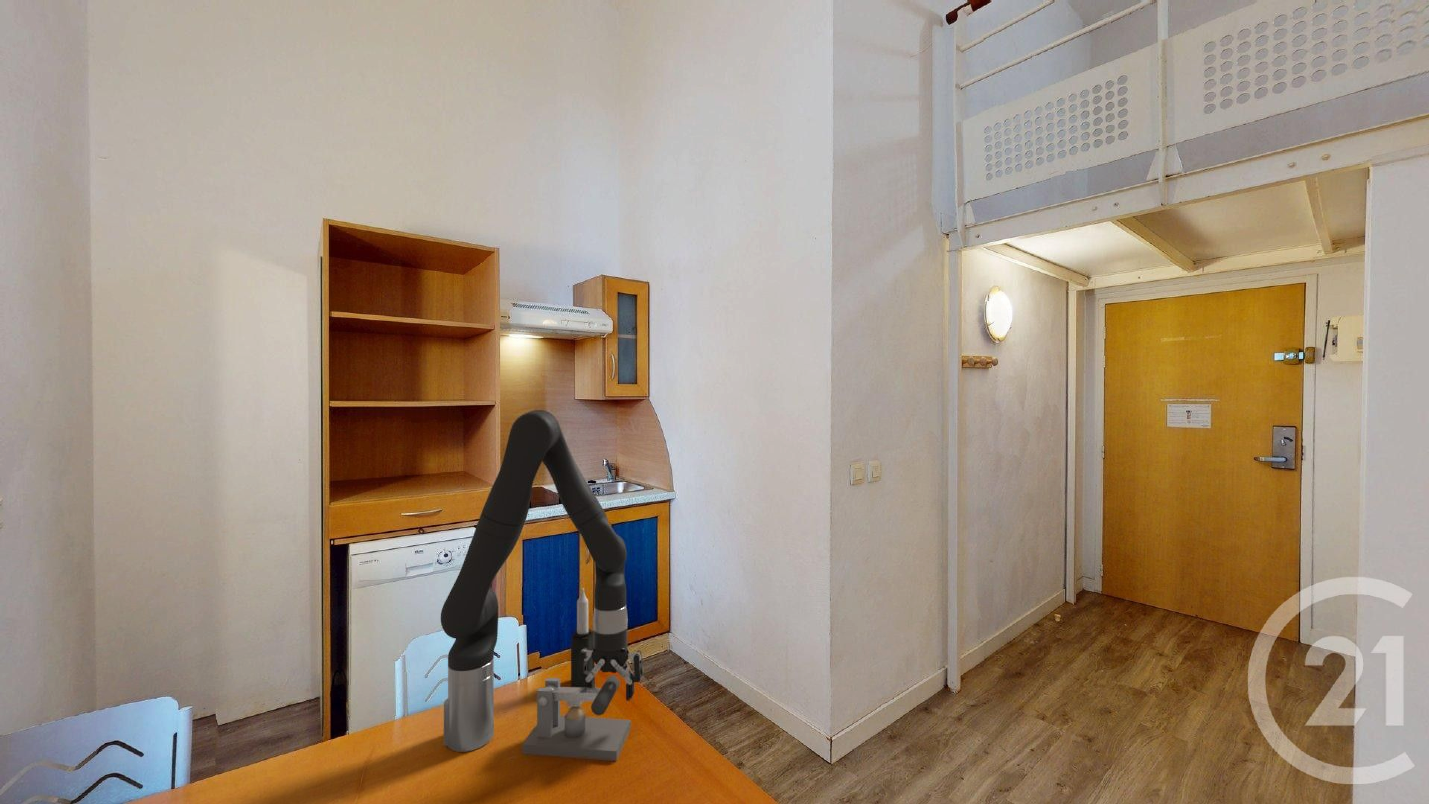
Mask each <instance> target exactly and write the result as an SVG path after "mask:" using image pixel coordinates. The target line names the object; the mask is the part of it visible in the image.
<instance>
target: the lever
mask: <svg viewBox="0 0 1429 804" xmlns="http://www.w3.org/2000/svg"><path fill="white" fill-rule="evenodd" d="M619 687H620V679H619V678H618V677H617V676H615V675H611V676H608V677H607V678H606V680H605V681H604V682H603V685H602V686H601V687H595V688H583V687H573V686H571V687H570V686H560V687H555V686H554V685H548V686H546V688H553V701H560V702H565V701H566V706H567V707H573V706H574V707H581V706H582V704H583V703H584V702H591V706H590V710H591V712H592V713H593V714H594V715H596V716H602V715H604V714H605V713H606V711H607V709H608V707H609V705H610V703H611V702H612V700H613V698H614V697H615V695H616V693H617V691H618V689H619Z"/></svg>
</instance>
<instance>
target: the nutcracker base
mask: <svg viewBox="0 0 1429 804" xmlns="http://www.w3.org/2000/svg"><path fill="white" fill-rule="evenodd" d="M548 685H554V686H555V687H561V678H558V677H557V678H556V677H547V678H546V679H545V681H544V687H539V688H538V689H537V690H536V725H535V726H534V728H533V729H532V731H530V733H529V734H528V736H527V738H526V739H525V740H524V741H523V742H522V744H521V747H522V748H521V750H522V751H521V753H522V754H523V755H534V756H548V757H557V758H559V757H560V758H562V757H563V758H574V759H584V760H585V759H588V760H602V761H611V762H612V761H614V762H617V760H618V759H619V757H620V754H621V752H622V749H623V748H624V745H625V742H626V740H627V738H628V736H629V733H630V731H631V729H632V728H631V727H632V726H631V723H632V722H631V721H632V720H631V719H623V718H622V719H619V718H605V717H604V718H603V717H593V716H592V717H589V716H586V712H585V711H584V710H583V708H582V707H581V706H580V707H574V706H570V708H569V709H568V711H567V712H566V713H565V715H561V701H553V688H546V686H548Z"/></svg>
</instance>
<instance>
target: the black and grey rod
mask: <svg viewBox="0 0 1429 804" xmlns="http://www.w3.org/2000/svg"><path fill="white" fill-rule="evenodd" d="M580 591H581V592H580V594H579V595H580V596H579V598H578V599H577V600H576V630H575V631H573V634H572V635H571V636H570V686H571V687H583V688H586V680H585V679H579V678H578V665H579V654H580V652H581V651H582V650H583V648H587V649H588V650H591V651H593V630H592V629H590V628H589V599H588V598H587V596H586V593H585V588H584V587H581V589H580ZM594 666H595V662H594V661H593V659H592V657H590V658H589V660H588V661H587V671H589V672H591V670H592V669H593V668H594Z"/></svg>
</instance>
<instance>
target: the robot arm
mask: <svg viewBox="0 0 1429 804" xmlns="http://www.w3.org/2000/svg"><path fill="white" fill-rule="evenodd" d="M506 443H507V444H506V447H505V450H504V455H503V459H502V463H501V465H500V469H499V471H498V474H497V476H496V478H495V480H494V482H493V484H492V486H491V489H490V492H489V493H488V496H487V497H486V500H485V503H484V505H483V508H482V511H481V513H480V515H479V519H478V520H477V523H476V527H475V530H474V533H473V536H472V538H471V540H470V543H469V546H468V549H467V552H466V554H465V557H464V560H463V562H462V566H461V569H460V570H459V573H458V575H457V577H456V579H455V581H454V583H453V586H452V587H451V590H450V591H449V593H448V595H447V597H446V599H445V601H444V603H443V605H442V609H441V612H440V625H441V628H442V630H443V632H444V633H445V634H446V635H447V636H448V637H449V638H451V639H455V640H454V642H453V644H452V646H451V647H450V649H449V651H448V655H447V698H446V699H445V700H444V701H443V746H445V747H448V748H449V749H450V750H452V751H454V752H457V753H458V752H460V753H462V752H463V753H464V752H471V751H474V750H477V749H479V748H482V747H484V746H485V745H487V744H488V743H489V742H490V741H492V739H493V737H494V732H495V731H494V729H495V728H494V727H495V721H494V719H495V718H494V717H495V716H494V715H495V711H494V710H495V709H494V707H495V706H494V704H495V703H494V701H495V700H494V699H495V698H494V697H495V696H494V695H495V694H494V691H495V690H494V689H495V687H494V685H495V684H494V683H495V682H494V679H495V678H494V677H495V673H494V672H495V671H494V669H495V666H494V665H495V664H494V663H495V662H494V661H495V660H494V659H495V657H494V653H495V648H496V645H497V642H498V637H499V636H498V635H499V632H498V631H499V601H498V597H497V594H496V592H495V591H494V590H493V588H491V586H492V583H493V582H494V579H495V578H496V576H497V574H498V573H499V571H500V570H501V568H502V567H503V565H504V564H505V563H506V561H507V560H508V558H509V556H510V555H511V553H512V552H513V550H514V549H515V546H516V545H517V543H518V541H519V538H520V537H521V534H522V531H523V528H524V526H525V523H526V521H527V518H528V514H529V510H530V505H531V504H530V503H531V498H532V490H533V484H534V481H535V478H536V477H537V476H536V475H537V473H538V471H539V469H540V467H541V464H542V463H543V465H544V466H545V468H546V469H547V471H548V473H549V475H550V477H551V478H552V482H553V484H554V487H555V490H556V491H557V495H558V498H559V500H560V502H561V505H562V506H563V509H564V510H565V512H566V513H567V515H568V517H569V519H570V520H571V522H572V524H573V525H574V527H575V529H576V530H577V531H578V533H579V534H580V536H581V538H582V539H583V542H584V544H585V545H586V548H587V550H588V553H589V554H590V556H591V558H592V560H593V561H594V565H595V566H594V568H595V584H594V595H593V596H594V597H593V598H594V600H593V601H594V602H593V603H594V607H593V609H594V610H593V620H592V622H593V623H592V624H593V625H592V631H593V651H591V650H588V649H587V648H583V650H582V651H581V652H580V654H579V665H578V678H579V679H585V680H586V688H596V678H595V676H596V675H597V673H598V672H599V671H601V672H602V673H612V674H617V673H618V674H619V675H620V677H621V678H623V679H624V681H625V683H626V684H625V700H626V701H627V702H628V701H629V702H630V700H631V699H632V698H633V696H634V694H635V683H640V681H641V679H642V677H643V674H644V673H643V656H642V655H643V654H642V651H641V650H637V651H635V652H630V651H629V650H628V623H629V619H628V609H627V585H626V579H625V573H626V571H625V569H626V568H625V566H626V561H627V554H628V553H627V548H626V547H627V546H626V543H625V540H624V539H623V538H622V536H620V535H618V534H617V533H616V531H615V530H614V529H613V526H611V524H610V522H609V519H608V516H607V514H606V511H605V509H604V508H603V507H602V505H601V503H600V502H599V500H598V498H597V496H596V495H595V492H594V491H593V490H592V488H591V486H589V484H588V482H587V480H586V479H585V477H584V475H583V473H582V472H581V470H580V468H579V466H578V465H577V462H576V461H575V459H574V457H573V455H572V453H571V450H570V448H569V446H568V444H567V441H566V438H565V436H564V434H563V430H562V428H561V426H560V423H559V420H558V419H557V418H556V416H555V415H554V414H552V413H551V412H549V411H547V410H543V409H534V410H531V411H528V412H525V413H523V414H521V415H520V416H518V417H517V418H516V419H515V421H514V422H513V424H512V425H511V428H510V431H509V435H508V439H507V442H506ZM590 657H592V659H593V661H594V668H593V669H592V670H591V672H589V671H587V661H588V660H589V658H590ZM628 659H629V660H630V662H631V663H632V665H633V670H634V673H633V671H632V670H631V667H630V665H629V663H628V662H627V661H628Z"/></svg>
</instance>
